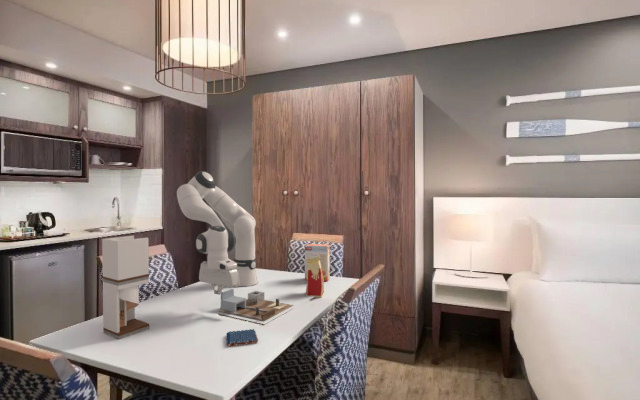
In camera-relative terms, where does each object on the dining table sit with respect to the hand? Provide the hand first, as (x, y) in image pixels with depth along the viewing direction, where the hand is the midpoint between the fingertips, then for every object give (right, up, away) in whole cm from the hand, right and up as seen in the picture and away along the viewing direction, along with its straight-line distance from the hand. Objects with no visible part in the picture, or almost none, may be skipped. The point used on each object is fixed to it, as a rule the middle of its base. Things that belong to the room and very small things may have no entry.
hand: (217, 294), depth 155 cm
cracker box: (+44, -6, +53) cm, 69 cm away
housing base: (+18, -7, -2) cm, 19 cm away
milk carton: (+43, -7, +23) cm, 49 cm away
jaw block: (+16, -5, +7) cm, 18 cm away
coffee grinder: (-27, -8, -24) cm, 37 cm away
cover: (+8, -5, -4) cm, 10 cm away
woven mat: (+18, -9, -31) cm, 36 cm away
